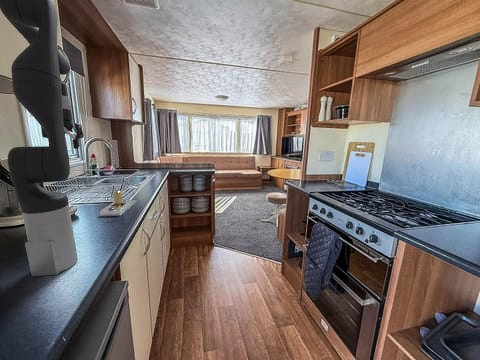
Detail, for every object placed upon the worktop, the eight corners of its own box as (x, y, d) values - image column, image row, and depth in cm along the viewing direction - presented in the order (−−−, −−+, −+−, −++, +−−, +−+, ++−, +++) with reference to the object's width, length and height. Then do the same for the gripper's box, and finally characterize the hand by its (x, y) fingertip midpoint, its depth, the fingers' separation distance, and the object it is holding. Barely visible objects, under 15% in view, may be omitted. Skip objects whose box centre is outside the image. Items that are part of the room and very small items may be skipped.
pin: (121, 210, 102) (119, 192, 100) (113, 210, 101) (111, 192, 99) (124, 207, 105) (122, 190, 103) (117, 207, 105) (115, 190, 103)
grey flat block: (120, 215, 95) (119, 209, 94) (100, 216, 94) (99, 209, 93) (136, 202, 114) (135, 196, 114) (120, 202, 113) (119, 197, 113)
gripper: (31, 106, 80) (39, 149, 83) (71, 107, 81) (77, 149, 85) (46, 108, 87) (53, 147, 90) (83, 109, 89) (88, 148, 92)
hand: (65, 148), depth 87 cm, fingers open, 8 cm apart
